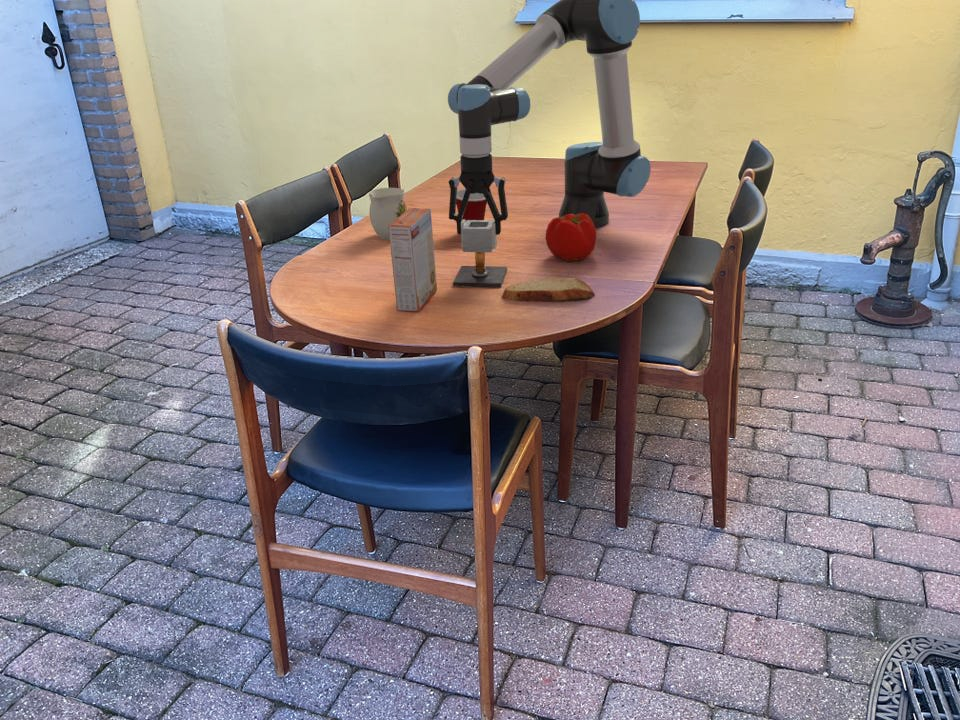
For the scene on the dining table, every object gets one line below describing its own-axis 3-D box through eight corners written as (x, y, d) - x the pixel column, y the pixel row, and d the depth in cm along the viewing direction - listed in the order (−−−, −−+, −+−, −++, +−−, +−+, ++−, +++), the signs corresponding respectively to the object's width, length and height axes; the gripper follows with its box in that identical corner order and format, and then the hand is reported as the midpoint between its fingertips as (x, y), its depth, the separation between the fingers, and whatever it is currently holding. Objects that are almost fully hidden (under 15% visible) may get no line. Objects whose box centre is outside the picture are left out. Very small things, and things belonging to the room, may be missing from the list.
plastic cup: (479, 240, 233) (478, 199, 227) (447, 235, 238) (445, 195, 232) (497, 229, 241) (496, 190, 236) (466, 225, 246) (464, 186, 241)
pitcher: (419, 226, 246) (416, 182, 240) (397, 245, 231) (393, 198, 225) (386, 225, 250) (382, 180, 243) (362, 243, 234) (357, 196, 228)
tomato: (567, 269, 209) (568, 225, 203) (535, 255, 220) (535, 213, 214) (607, 259, 215) (609, 216, 210) (574, 245, 226) (575, 204, 220)
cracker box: (414, 289, 200) (408, 206, 191) (438, 291, 199) (432, 207, 189) (394, 311, 188) (386, 224, 179) (419, 313, 187) (412, 225, 177)
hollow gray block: (495, 243, 204) (494, 220, 202) (491, 252, 198) (490, 228, 196) (468, 243, 205) (467, 220, 203) (463, 252, 199) (462, 228, 197)
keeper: (507, 270, 210) (506, 236, 206) (501, 287, 199) (500, 252, 195) (461, 269, 212) (459, 236, 208) (453, 286, 201) (451, 251, 197)
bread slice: (495, 297, 194) (495, 283, 193) (546, 277, 205) (546, 263, 204) (551, 317, 183) (551, 302, 181) (601, 295, 193) (602, 280, 192)
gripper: (519, 150, 193) (520, 242, 204) (437, 150, 196) (443, 241, 207) (516, 157, 187) (517, 252, 197) (431, 157, 190) (437, 250, 200)
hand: (479, 246), depth 202 cm, fingers closed on hollow gray block, 7 cm apart
